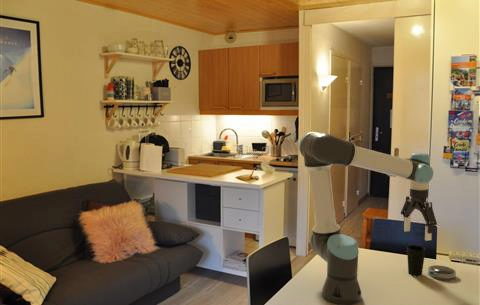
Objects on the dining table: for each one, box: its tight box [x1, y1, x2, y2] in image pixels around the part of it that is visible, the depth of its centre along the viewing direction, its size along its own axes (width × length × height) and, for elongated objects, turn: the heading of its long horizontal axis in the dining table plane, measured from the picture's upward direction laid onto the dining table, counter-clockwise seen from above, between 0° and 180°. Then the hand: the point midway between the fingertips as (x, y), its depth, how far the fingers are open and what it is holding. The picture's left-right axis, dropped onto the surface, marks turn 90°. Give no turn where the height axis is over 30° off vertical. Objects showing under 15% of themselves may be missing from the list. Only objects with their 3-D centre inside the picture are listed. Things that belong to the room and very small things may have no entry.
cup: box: [406, 244, 426, 277], centre depth 191 cm, size 8×8×12 cm
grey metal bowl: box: [427, 265, 457, 282], centre depth 189 cm, size 11×11×3 cm
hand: (417, 235), depth 189 cm, fingers open, 13 cm apart
